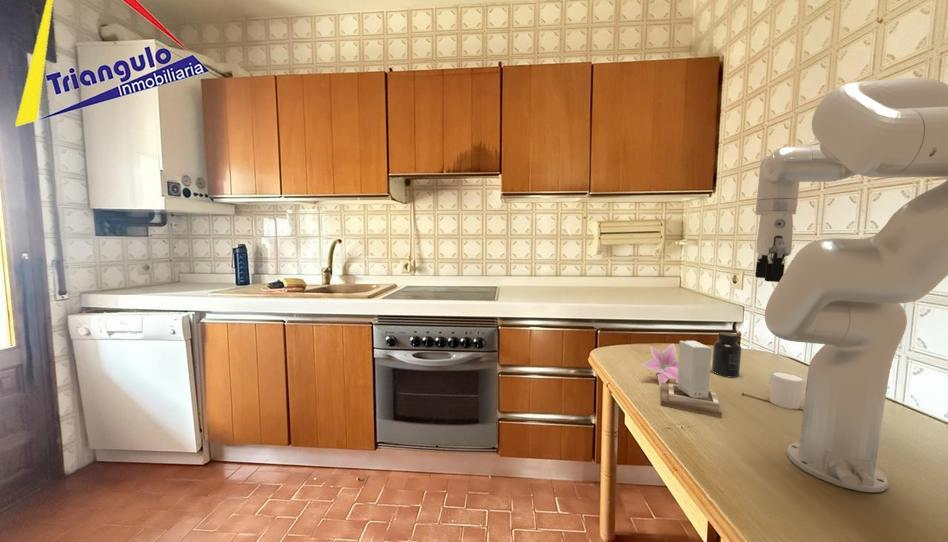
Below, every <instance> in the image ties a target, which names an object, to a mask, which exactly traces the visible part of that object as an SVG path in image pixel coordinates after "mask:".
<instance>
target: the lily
mask: <svg viewBox="0 0 948 542" xmlns="http://www.w3.org/2000/svg"><path fill="white" fill-rule="evenodd" d="M649 349H650V352H651V355H652V356H653V358H650V359H649V360H648V359H647V361H645V362H643V363H642V367H644V368H646V369H648V370H651V371H652V372H656V373H655V375H657V379H658V386H660V387H661V384H662V383H667V381H668V380H670V378H673V379H676V384H678V365H679V359H678V356H677V349H676V345H675V344H674V343H671V344H669V345H668V346H667V347H665V349H664V350H663V351H662V352H661V350H659V349H657V348H655V347H653V346H649Z"/></svg>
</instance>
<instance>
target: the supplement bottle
mask: <svg viewBox="0 0 948 542" xmlns="http://www.w3.org/2000/svg"><path fill="white" fill-rule="evenodd" d="M717 339H718V340H717V341H715V342H714V344H713V349H712V351H713V352H712V362H711V363H712V364H711V371H712V370H713V371H714V372H716V373H718V374H721V375H725V376H724V377H726V376H730V377H729V378H737V377H739V376H740V369H741V358H742V347H741V345H740V344H738V342H739V335H738V334H735V333H732V332H724V331H723V332H718V337H717ZM713 371H712V372H713ZM714 372H713V373H714ZM716 373H715V374H716ZM718 374H717V375H718ZM721 375H720V376H721Z"/></svg>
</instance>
